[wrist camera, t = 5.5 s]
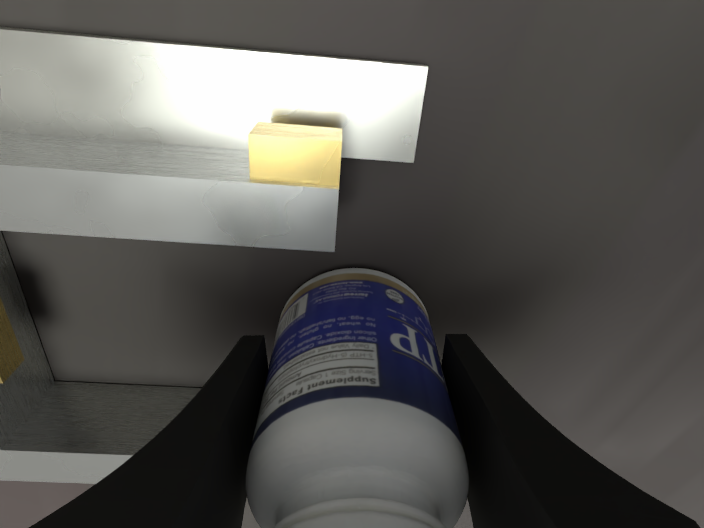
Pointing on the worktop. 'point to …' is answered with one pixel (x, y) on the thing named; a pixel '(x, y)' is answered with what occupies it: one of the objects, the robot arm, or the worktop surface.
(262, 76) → the socket
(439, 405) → the pill bottle
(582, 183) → the worktop surface
